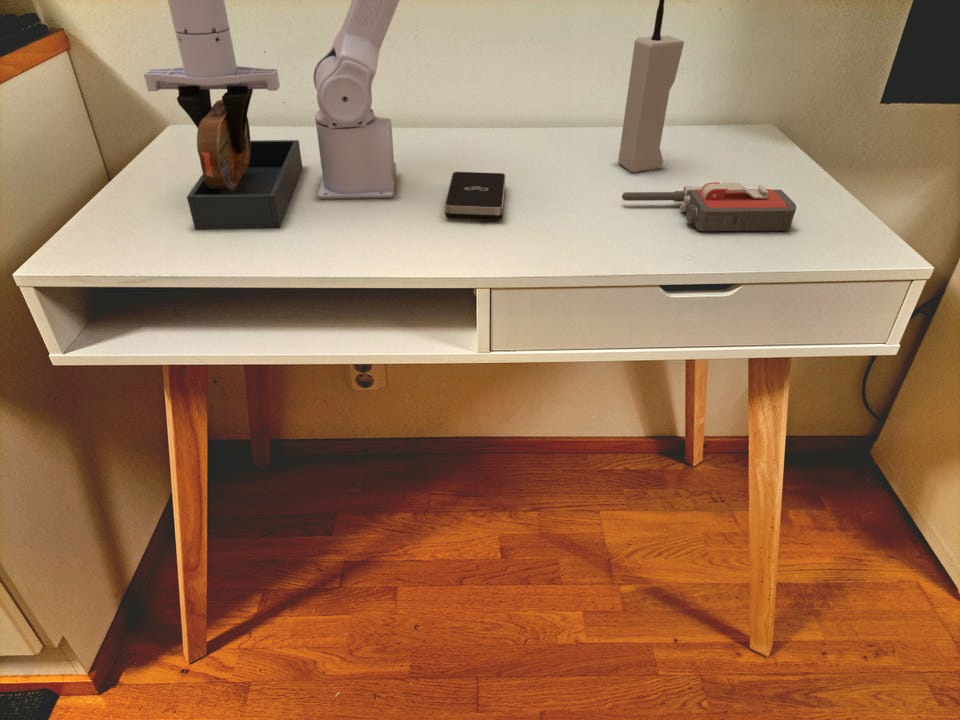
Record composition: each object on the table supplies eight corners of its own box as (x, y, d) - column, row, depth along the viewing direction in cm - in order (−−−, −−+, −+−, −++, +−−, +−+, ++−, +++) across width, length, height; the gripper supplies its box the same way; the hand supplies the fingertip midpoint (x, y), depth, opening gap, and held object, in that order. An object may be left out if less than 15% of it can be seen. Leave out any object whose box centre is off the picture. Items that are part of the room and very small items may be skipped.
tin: (228, 202, 79) (219, 130, 74) (199, 200, 79) (189, 127, 74) (254, 156, 91) (248, 91, 86) (230, 154, 91) (222, 88, 86)
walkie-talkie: (773, 202, 87) (618, 203, 86) (782, 168, 84) (623, 169, 84) (801, 232, 80) (633, 233, 79) (813, 197, 77) (639, 198, 77)
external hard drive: (505, 187, 90) (505, 173, 89) (502, 224, 81) (502, 208, 80) (453, 186, 90) (452, 171, 89) (444, 222, 81) (443, 206, 80)
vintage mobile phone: (661, 169, 96) (698, -35, 81) (631, 173, 94) (662, -33, 80) (647, 160, 99) (679, -38, 84) (617, 164, 97) (645, -37, 82)
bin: (302, 168, 94) (298, 139, 92) (279, 228, 79) (274, 195, 77) (231, 169, 94) (225, 140, 91) (195, 229, 79) (186, 196, 76)
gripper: (275, 22, 79) (293, 139, 87) (146, 21, 78) (176, 140, 86) (264, 35, 73) (284, 158, 81) (125, 34, 72) (159, 160, 80)
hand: (228, 150), depth 83 cm, fingers closed on tin, 2 cm apart
